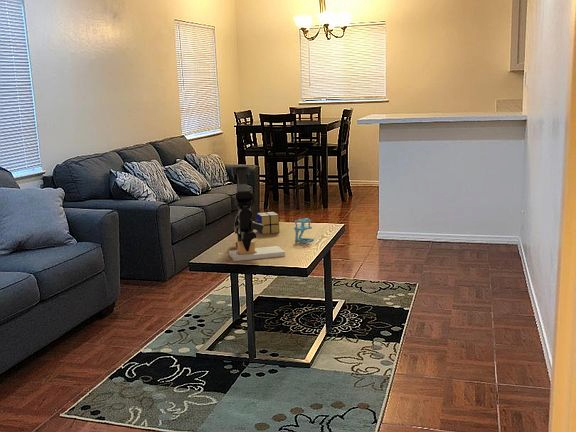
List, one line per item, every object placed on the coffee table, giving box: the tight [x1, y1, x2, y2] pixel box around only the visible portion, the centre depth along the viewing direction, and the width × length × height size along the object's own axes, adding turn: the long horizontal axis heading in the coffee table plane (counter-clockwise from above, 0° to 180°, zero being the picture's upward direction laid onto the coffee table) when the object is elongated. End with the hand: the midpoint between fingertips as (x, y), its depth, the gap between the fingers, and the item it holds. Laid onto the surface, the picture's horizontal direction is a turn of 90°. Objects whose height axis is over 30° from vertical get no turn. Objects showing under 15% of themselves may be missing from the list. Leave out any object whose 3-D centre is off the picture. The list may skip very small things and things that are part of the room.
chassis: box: [228, 245, 286, 262], centre depth 296 cm, size 12×24×2 cm, turn 107°
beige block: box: [237, 239, 256, 254], centre depth 294 cm, size 5×7×5 cm
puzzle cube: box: [256, 211, 280, 235], centre depth 345 cm, size 10×10×10 cm
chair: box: [293, 217, 315, 244], centre depth 321 cm, size 8×8×12 cm
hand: (246, 250), depth 295 cm, fingers closed on beige block, 5 cm apart
